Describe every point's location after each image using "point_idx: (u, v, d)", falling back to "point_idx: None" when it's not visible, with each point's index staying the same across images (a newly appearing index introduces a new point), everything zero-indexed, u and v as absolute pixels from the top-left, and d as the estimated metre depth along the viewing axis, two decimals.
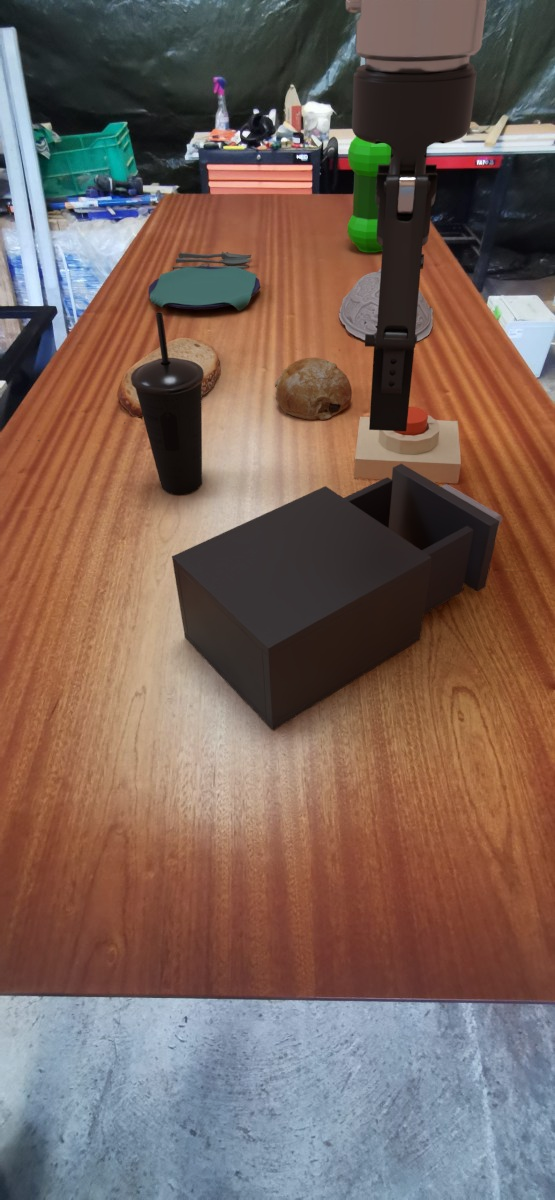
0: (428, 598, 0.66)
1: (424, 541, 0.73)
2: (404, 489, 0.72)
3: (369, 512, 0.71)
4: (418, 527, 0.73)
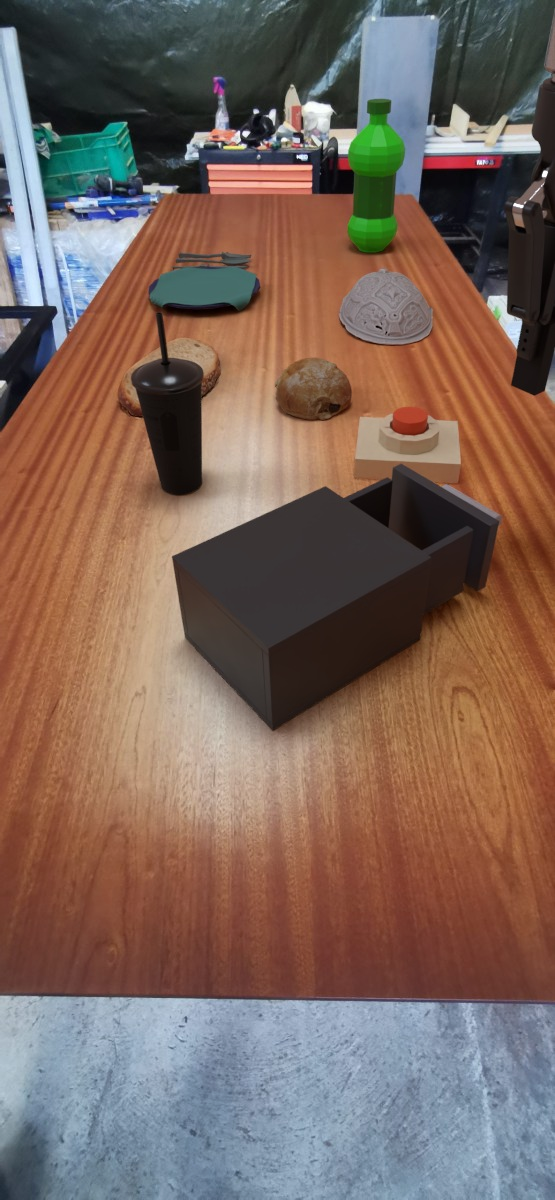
0: (428, 598, 0.66)
1: (424, 541, 0.73)
2: (404, 489, 0.72)
3: (369, 512, 0.71)
4: (418, 527, 0.73)
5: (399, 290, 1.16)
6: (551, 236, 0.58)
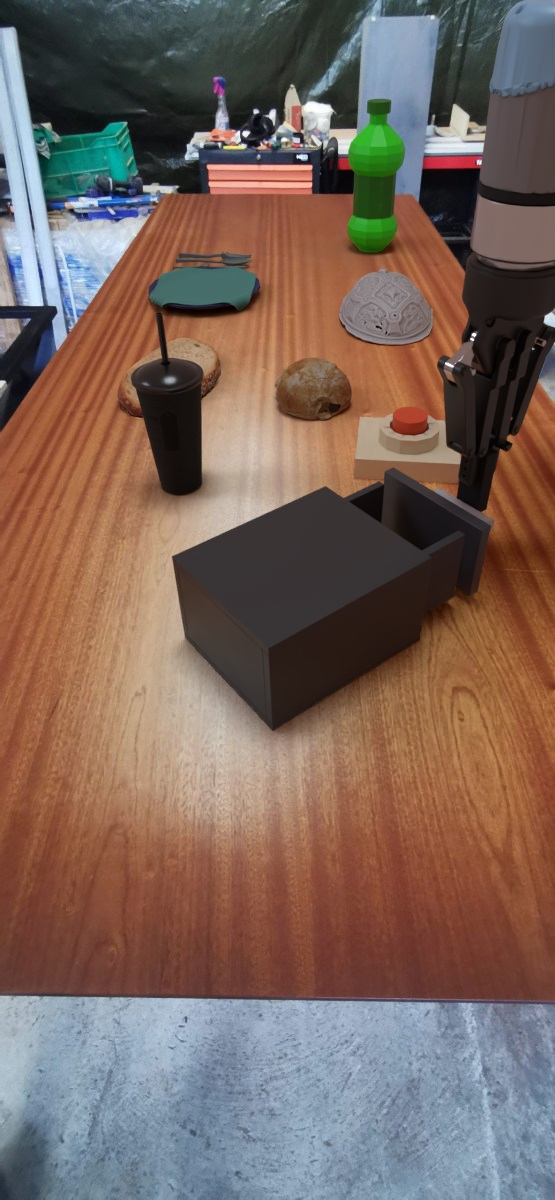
0: None
1: (416, 546, 0.72)
2: (396, 493, 0.71)
3: None
4: (410, 531, 0.72)
5: (399, 290, 1.16)
6: (483, 385, 0.63)
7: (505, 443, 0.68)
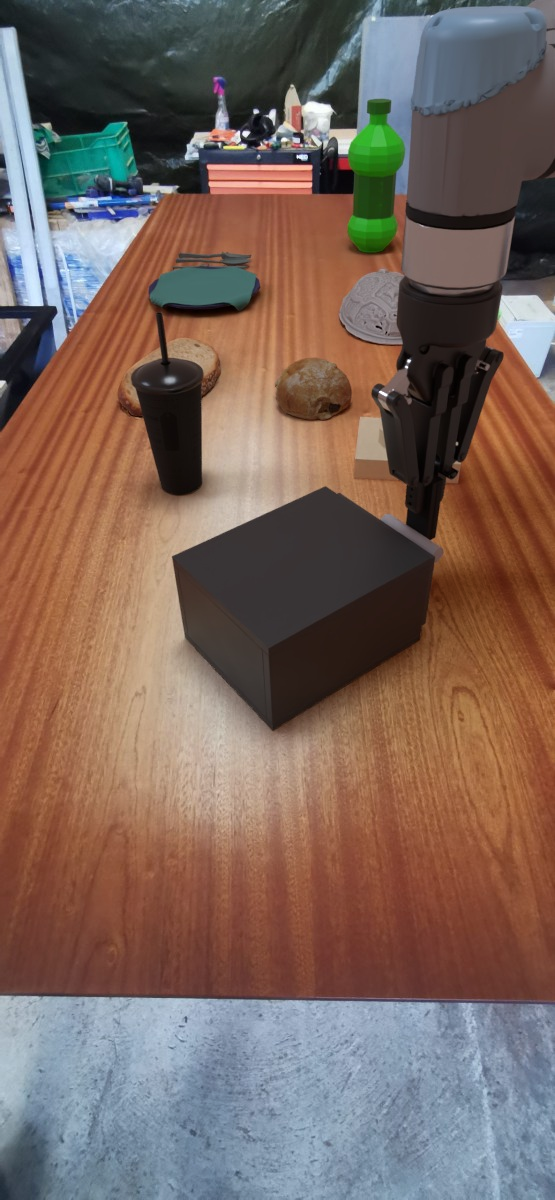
0: None
1: None
2: None
3: None
4: None
5: None
6: (423, 412, 0.60)
7: (450, 470, 0.65)
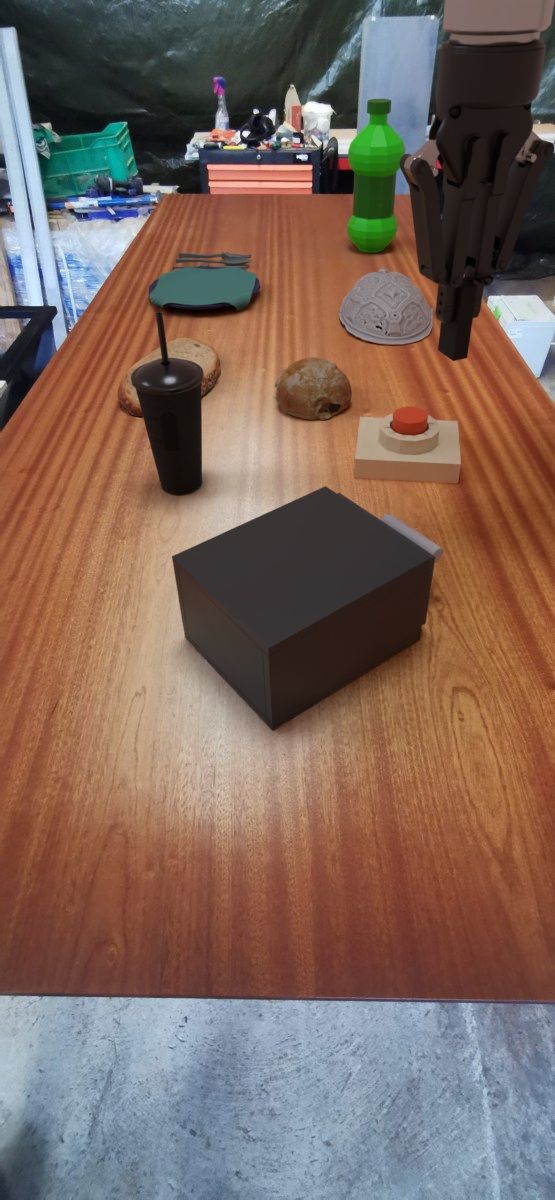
0: None
1: None
2: None
3: None
4: None
5: (399, 290, 1.16)
6: (455, 197, 0.59)
7: (486, 276, 0.63)
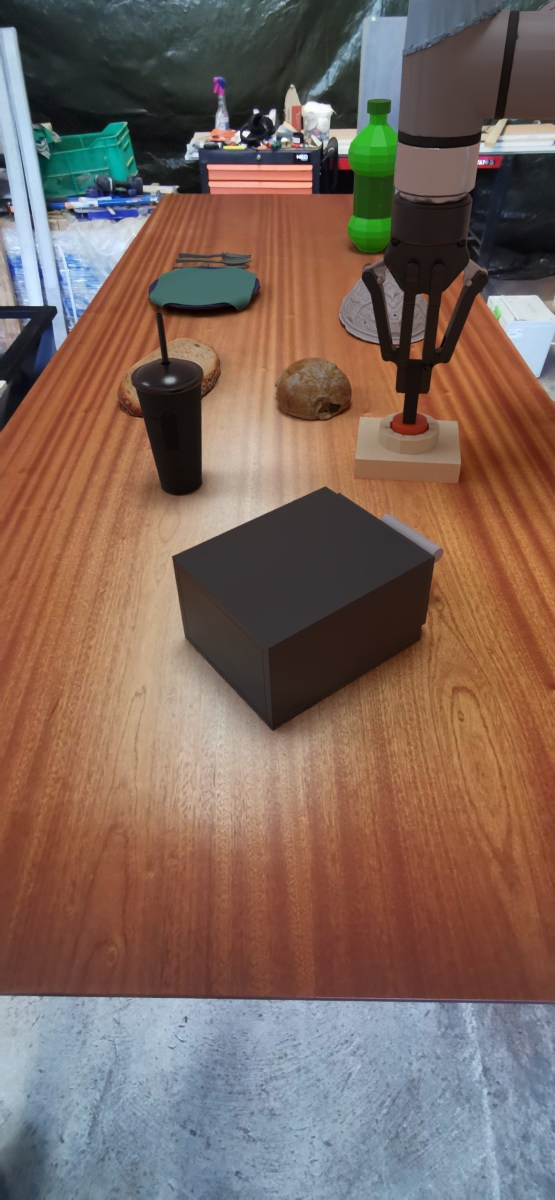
0: None
1: None
2: None
3: None
4: None
5: (399, 290, 1.16)
6: (403, 300, 0.77)
7: (428, 364, 0.80)
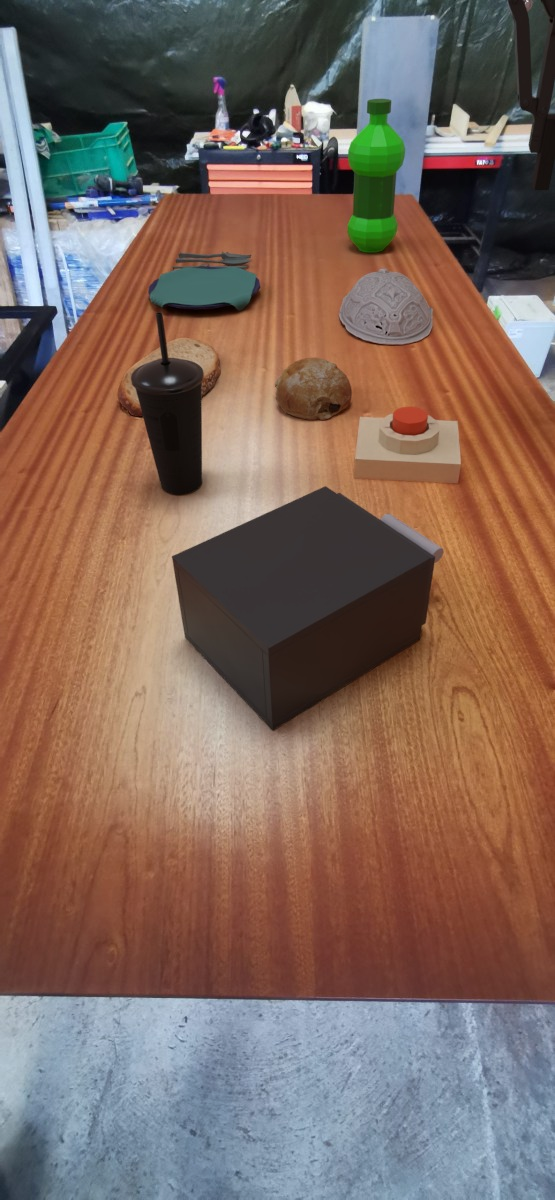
0: None
1: None
2: None
3: None
4: None
5: (399, 290, 1.16)
6: (549, 32, 0.71)
7: None
